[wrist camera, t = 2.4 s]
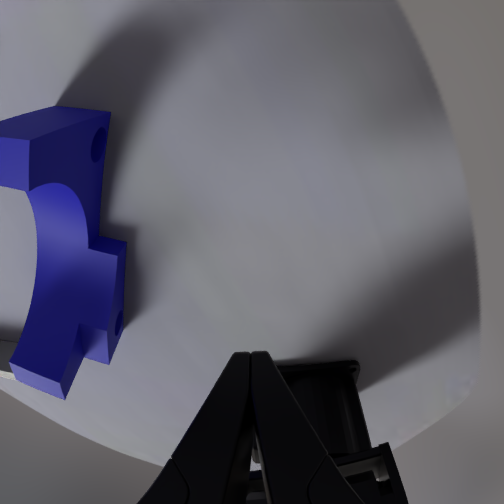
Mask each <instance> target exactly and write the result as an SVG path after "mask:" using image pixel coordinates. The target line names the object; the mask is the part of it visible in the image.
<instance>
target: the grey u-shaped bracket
mask: <svg viewBox="0 0 504 504" xmlns="http://www.w3.org/2000/svg"><path fill="white" fill-rule="evenodd" d="M17 344H18V343H17V342H10V341H3V340H0V377H4V378H8V379H12V380H16V378H15V376H14V374H13V371H12V369H11V367H10V364H9V360H10V358H11V357H12V355H13V353H14V351H15V349H16V347H17ZM17 381H18V380H17Z"/></svg>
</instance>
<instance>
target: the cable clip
mask: <svg viewBox="0 0 504 504" xmlns="http://www.w3.org/2000/svg"><path fill="white" fill-rule="evenodd" d="M110 116H111V112H106V111H98V110H90V109H81V108H72V107H61V106H52V107H48V108H44V109H40V110H37V111H33V112H29V113H26V114H22V115H19V116H15V117H12V118H9V119H6V120H2V121H0V186H4V187H9V188H14V189H18V190H23V191H25V192H26V194H27V196H28V198H29V200H30V203H31V206H32V209H33V213H34V217H35V223H36V230H37V268H36V277H35V284H34V290H33V295H32V300H31V305H30V309H29V313H28V316H27V320H26V323H25V326H24V329H23V332H22V334H21V337H20V340H19V342H18V344H17V347H16V349H15V351H14V353H13V355H12V357H11V358H10V360H9V364H10V367H11V369H12V371H13V374H14V376H15V378H16V380H18V381H20V382H22V383H24V384H26V385H29V386H31V387H33V388H36V389H38V390H41V391H43V392H45V393H48V394H50V395H53V396H55V397H58V398H61V399H63V400H65V399H66V396H67V394H68V392H69V389H70V387H71V385H72V382H73V380H74V378H75V376H76V373H77V371H78V369H79V367H80V365H81V362H82V360H83V358H84V357H85V358H88V359H91V360H94V361H98V362H101V363H104V364H108V365H109V364H110V361H111V359H112V356H113V354H114V351H115V349H116V346H117V344H118V341H119V339H120V337H121V334H122V332H123V311H124V278H125V260H126V245H127V242H124V241H120V240H116V239H112V238H108V237H103V236H99V224H100V206H101V191H102V179H103V169H104V160H105V151H106V143H107V136H108V129H109V122H110Z"/></svg>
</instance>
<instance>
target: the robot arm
mask: <svg viewBox="0 0 504 504" xmlns="http://www.w3.org/2000/svg"><path fill="white" fill-rule="evenodd" d="M359 372H360V365H359V362H358V361H356V360H351V361H343V362H334V363H324V364H314V365H302V366H289V367H276V365H275V363H274V361H273V360H272V358H271V356H270V354H269V353H268V352H267V351H253V352H252V353H251V354H250V352H235V353H233V355H232V356H231V358H230V360H229V361H228V363H227V365H226V367H225V368H224V370H223V372H222V373H221V375H220V377H219V378H218V380H217V382H216V383H215V385H214V387H213V388H212V390H211V392H210V393H209V395H208V397H207V398H206V400H205V402H204V403H203V405H202V407H201V408H200V410H199V412H198V413H197V415H196V417H195V418H194V420H193V422H192V423H191V425H190V426H189V428H188V430H187V431H186V433H185V435H184V436H183V438H182V439H181V441H180V443H179V444H178V446H177V447H176V449H175V451H174V452H173V454H172V455H171V458H172V459H171V458H170V459H169V460H168V461H167V463H166V465H165V466H164V468H163V469H162V471H161V473H160V474H159V475H158V477H157V478H156V480H155V481H154V483H153V484H152V485H151V487H150V488H149V489H148V491H147V492H146V493H145V494H144V495H143V497H142V498H141V499H140V500H139V502H138V503H137V504H408V500H407V497H406V493H405V490H404V487H403V484H402V481H401V478H400V475H399V472H398V469H397V466H396V463H395V460H394V457H393V454H392V451H391V448H390V446H389V443H388V442H386V443H383V444H379V446H378V447H374V448H372V446H371V442H370V438H369V434H368V430H367V426H366V422H365V418H364V414H363V410H362V406H361V403H360V399H359V395H358V391H357V388H356V382H357V379H358V375H359ZM251 456H252V459H253V461H254V462H255V463H256V464H257V463H260V464H261V470H257V471H250V464H251ZM377 478H379V481H376V479H377Z"/></svg>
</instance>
